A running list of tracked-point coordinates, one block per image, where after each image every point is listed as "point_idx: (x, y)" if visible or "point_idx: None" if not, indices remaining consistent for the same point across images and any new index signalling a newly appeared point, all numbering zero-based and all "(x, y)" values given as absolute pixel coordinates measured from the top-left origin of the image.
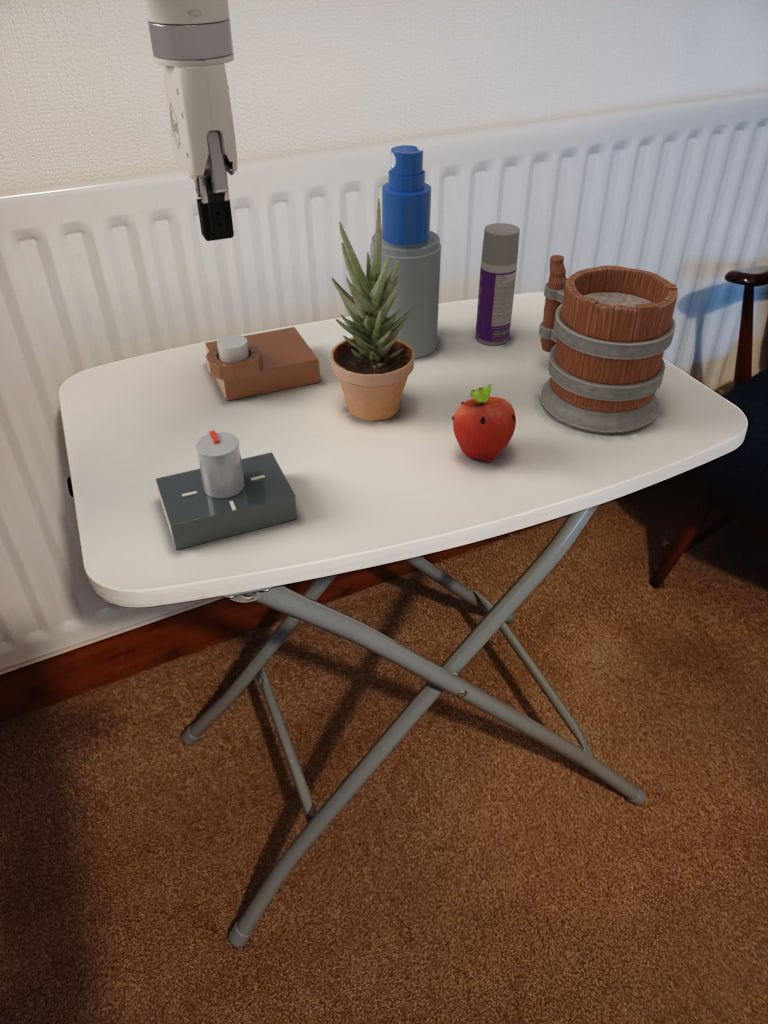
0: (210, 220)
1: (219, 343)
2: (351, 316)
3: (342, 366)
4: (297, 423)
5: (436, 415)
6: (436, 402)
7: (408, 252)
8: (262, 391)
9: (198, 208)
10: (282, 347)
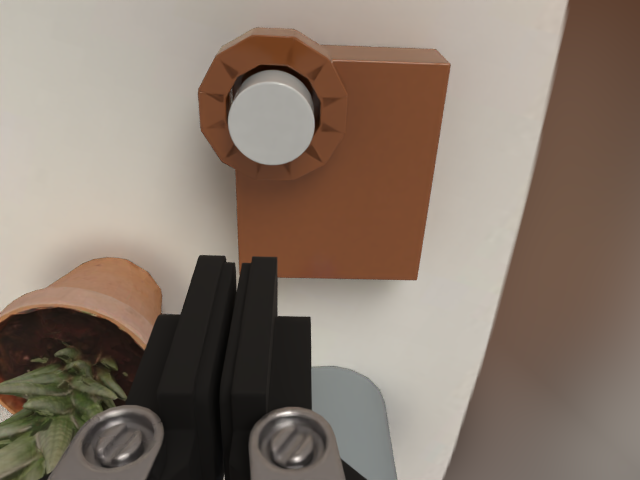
0: (161, 352)
1: (271, 88)
2: (93, 413)
3: (72, 311)
4: (94, 157)
5: None
6: None
7: None
8: None
9: (248, 352)
10: (328, 229)
